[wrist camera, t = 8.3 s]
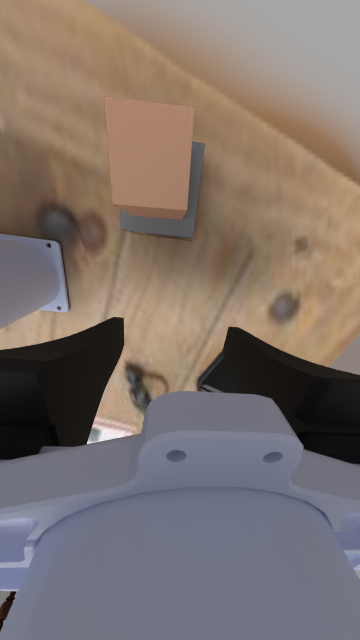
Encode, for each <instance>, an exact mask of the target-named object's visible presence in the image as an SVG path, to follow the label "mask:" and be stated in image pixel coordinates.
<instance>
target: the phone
mask: <svg viewBox="0 0 360 640" xmlns="http://www.w3.org/2000/svg"><path fill="white" fill-rule="evenodd" d="M212 364H213V365H212ZM211 365H212V366H211ZM210 366H211V367H210ZM209 367H210V368H209ZM198 385H199V387H200V388H201V389H203V390H205V391H208V392H215V393H236V394H239V393H238V390H237V388H236V386H235V383H234V381H233V379H232V377H231V374H230V372H229V370H228V367H227V365H226V363H225V359H224V355H223V351H222V352H221V353H220V354H219V355H218V356H217V357H216V358H215V360H214V361H213V362H212V363H211V364H210V365H209V366H208V368H207V369H206V370H205V371H204V372H203V373H202V375H201V376H200V377H199V378H198Z"/></svg>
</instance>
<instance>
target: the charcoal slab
mask: <svg viewBox="0 0 360 640" xmlns="http://www.w3.org/2000/svg"><path fill="white" fill-rule="evenodd" d="M204 147H205V144H204V143H198V142H192V149H191V163H190V177H189V191H188V205H187V212H186V214H185V216H184V218H183V219H182V220H176V219H164V218H152V217H139V216H131V215H130V214H128V213H126V212H125V211H123V210H122V209H120V222H121V230H126V231H133V232H142V233H151V234H159V235H168V236H177V237H185V238H193V237H194V229H195V220H196V212H197V204H198V196H199V188H200V180H201V171H202V163H203V155H204Z"/></svg>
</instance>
